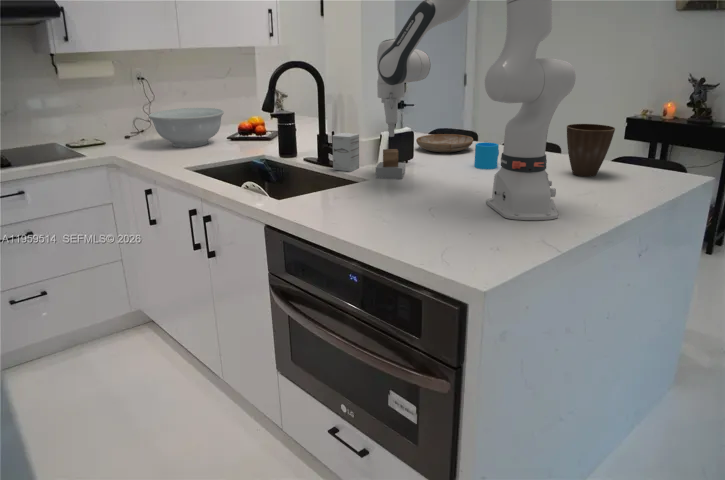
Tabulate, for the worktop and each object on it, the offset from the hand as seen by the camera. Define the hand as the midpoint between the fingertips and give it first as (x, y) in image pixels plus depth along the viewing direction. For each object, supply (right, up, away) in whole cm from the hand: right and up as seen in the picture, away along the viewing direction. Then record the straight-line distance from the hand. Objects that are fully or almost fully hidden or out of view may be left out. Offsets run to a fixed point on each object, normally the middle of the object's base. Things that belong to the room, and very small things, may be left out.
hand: (391, 134), depth 184 cm
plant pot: (+66, -13, +3) cm, 67 cm away
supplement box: (-16, -10, +16) cm, 24 cm away
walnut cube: (0, -10, +4) cm, 11 cm away
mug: (+37, -8, +17) cm, 41 cm away
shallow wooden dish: (+25, +2, +47) cm, 53 cm away
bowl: (-89, +8, +67) cm, 111 cm away
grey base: (0, -14, +6) cm, 15 cm away
